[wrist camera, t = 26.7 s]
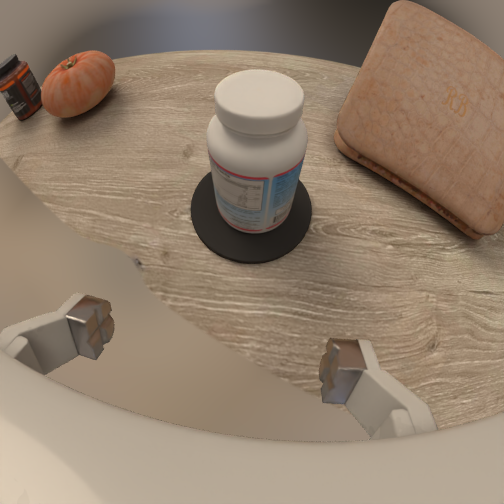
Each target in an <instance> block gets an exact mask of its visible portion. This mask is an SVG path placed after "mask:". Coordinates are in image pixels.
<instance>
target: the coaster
mask: <svg viewBox="0 0 504 504" xmlns="http://www.w3.org/2000/svg"><path fill="white" fill-rule="evenodd" d="M191 217H192V222H193V225H194V228H195V230H196V232H197V234H198V236H199V238H200V239H201V240H202V241H203V243H204V244H205V245H206V246H207V247H208V248H209V249H211V250H212V251H213V252H215V253H216V254H218V255H220V256H222V257H223V258H226V259H229V260H231V261H235V262H239V263H247V264H257V263H265V262H269V261H273V260H275V259H278V258H280V257H282V256H284V255H286V254H287V253H289V252H290V251H292V250H293V249H294V248H295V247H296V246H297V245H298V244H299V243H300V242H301V240H302V239H303V238H304V236H305V234H306V232H307V230H308V227H309V224H310V221H311V202H310V198H309V195H308V193H307V191H306V189H305V187H304V185H303V184H302V182H301V181H300V180H299V179H298V183H297V187H296V191H295V194H294V198H293V202H292V205H291V209H290V212H289V214H288V216H287V218H286V219H285V220H284V221H283V222H282V223H281V224H280V225H279V226H278V227H276V228H274V229H273V230H270V231H267V232H264V233H245V232H242V231H239V230H237V229H235V228H233V227H232V226H230V225H229V224H228V223H227V222H226V221H225V220H224V219H223V217H222V216H221V214H220V212H219V210H218V206H217V202H216V196H215V190H214V184H213V179H212V172H209V173H208V174H207V175H206V176H205V177H204V178H203V179H202V180H201V182H200V183H199V184H198V186H197V188H196V190H195V192H194V194H193V198H192V202H191Z"/></svg>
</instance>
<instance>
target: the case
mask: <svg viewBox="0 0 504 504" xmlns="http://www.w3.org/2000/svg"><path fill="white" fill-rule="evenodd" d="M334 141H335V144H336V146H337V148H338V149H339V150H340V151H341V152H342V153H343V154H344V155H346V156H347V157H349V158H351V159H352V160H354V161H356V162H358V163H360V164H362V165H363V166H365V167H367V168H369V169H370V170H372V171H374V172H375V173H377V174H379V175H381V176H382V177H384V178H386V179H387V180H389V181H391V182H392V183H394V184H395V185H397V186H399V187H400V188H402V189H403V190H405V191H406V192H408V193H409V194H411V195H412V196H414V197H415V198H417V199H418V200H420V201H421V202H423V203H424V204H426V205H427V206H429V207H430V208H431V209H433V210H434V211H436V212H437V213H438V214H440V215H441V216H442V217H444V218H446V219H447V220H448V221H449V222H451V223H452V224H453V225H454V226H456V227H457V228H458V229H460V230H461V231H462V232H463V233H465V234H466V235H467V236H469V237H470V238H472V239H480V238H482V237H483V236H484V235H487V236H489V235H493V234H495V233H497V232H498V231H499V230H500V228H501V227H502V225H503V223H504V60H503V59H502V58H501V57H500V56H499V55H498V54H497V53H495V52H494V51H493V50H492V49H490V48H489V47H488V46H487V45H485V44H484V43H482V42H481V41H480V40H478V39H477V38H475V37H474V36H473V35H471V34H470V33H468V32H467V31H465V30H463V29H462V28H460V27H458V26H457V25H455V24H453V23H451V22H450V21H448V20H447V19H445V18H443V17H441V16H440V15H438V14H436V13H434V12H432V11H430V10H429V9H427V8H425V7H423V6H421V5H418V4H416V3H413V2H409V1H405V0H401V1H397V2H394V3H393V4H392V5H391V6H390V8H389V9H388V11H387V13H386V16H385V18H384V20H383V23H382V25H381V27H380V29H379V31H378V33H377V35H376V37H375V39H374V41H373V44H372V46H371V48H370V50H369V52H368V54H367V56H366V59H365V61H364V63H363V65H362V67H361V69H360V71H359V73H358V75H357V78H356V80H355V82H354V84H353V86H352V88H351V90H350V92H349V94H348V96H347V98H346V100H345V102H344V104H343V106H342V108H341V110H340V113H339V115H338V119H337V130H336V132H335V135H334Z"/></svg>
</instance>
